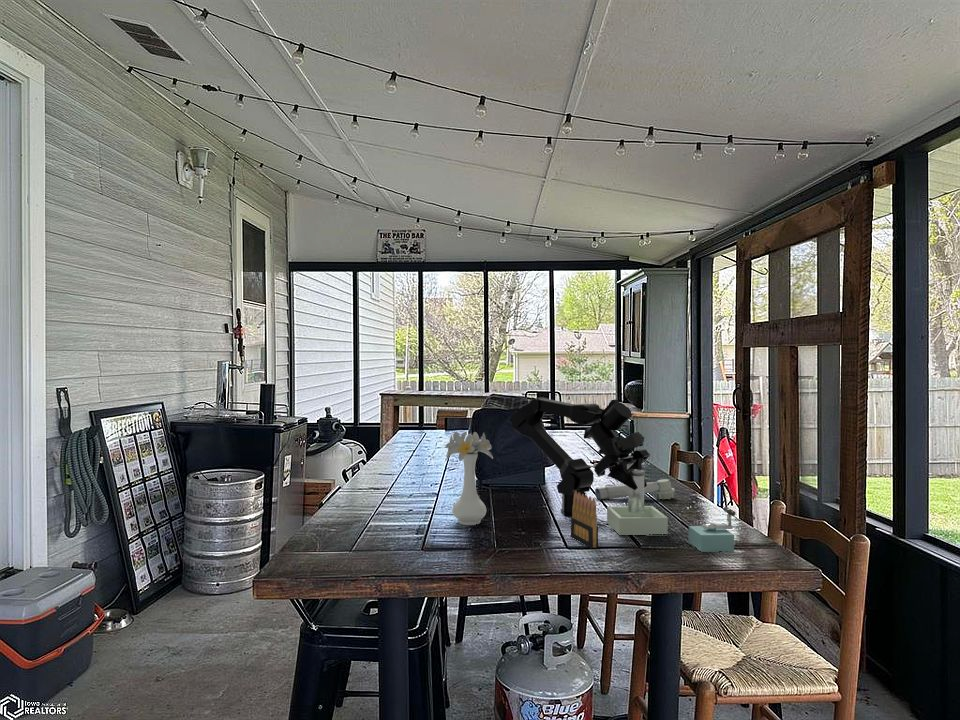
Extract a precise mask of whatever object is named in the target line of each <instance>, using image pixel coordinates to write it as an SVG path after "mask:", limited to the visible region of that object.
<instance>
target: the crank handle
mask: <svg viewBox="0 0 960 720" xmlns="http://www.w3.org/2000/svg"><path fill="white" fill-rule="evenodd" d="M722 510H723V512H725V513H726V523H714V522H706V523H703V524H701V526H702V528H703V529H707V530H711V531H714V530H716V529H726V530H733V528H734V527H733V524H732V519H733V518H732V517H734V516H736V512H735V511H734V510H733V509H731V508H729V507H727V506H724V507H723V509H722Z"/></svg>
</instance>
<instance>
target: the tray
mask: <svg viewBox="0 0 960 720" xmlns="http://www.w3.org/2000/svg"><path fill="white" fill-rule="evenodd" d="M668 521H669V519H668V517H667V516H666V515H665V514H664V513H662V512H661V511H659V510H658V509H657V508H655V507H654V506H653V505H644V513H631V512H629V511H628V505H627V506H626V505H621V506H618V505H617V506H615V505H613V506H612V505H611V506H607V507H606V523H607V522H608V523H607V525H608V526H609V527H610V526H611V527H612V528H613V529H614V530H615V531H616V532H617V533H618V534H619V535H646V536H653V535H652V534H662V535H661V536H664V535H663V534H668V526H669V524H668V523H669V522H668ZM612 528H611V529H612ZM613 529H612V530H613ZM614 530H613V531H614ZM615 531H614V532H615ZM616 532H615V533H616ZM617 533H616V534H617ZM618 534H617V535H618ZM649 534H651V535H649ZM619 535H618V536H619ZM668 535H669V534H668Z"/></svg>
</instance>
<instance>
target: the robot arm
mask: <svg viewBox="0 0 960 720" xmlns="http://www.w3.org/2000/svg"><path fill="white" fill-rule="evenodd" d="M545 413H547V414H551V415H553V416H554V415H555V416H560V417H565V418H568V419H569V420H570V421H571V422H572V423H574V424H577V425H579V426H586V425H587V426H588V425H591V426H590V427H589V428H588V427H587V428H585V429H584V434H583V439H585V440H586V439H592V440H593V442H594V443H595V445H596V446H597V447H598V448H599V450H598V451H597V453H599V455H603V457H602V458H600V460H599V461H598V462H596V464H595V465H594V467H593V468H594V469H593V470H594V471H593V470H592V466H591V465H588V463H587V462H586V461H585V460H584V459H583V458H575V459H573V458H572V457H571V456H570V454H569V453H567V451H565V450H564V449H563V448H562V447H561V446H560V444H559V443H558V442H556V440H555V439H554V438H553V437H552V436H551V435H550V434H549V433H548V432H547V431H546V430H545V429H544V428H543V422H542V419H543V418H544V416H545ZM632 416H633V414H632V410H631V409H630V407H628V406H627V405H625V404H624V403H622V402H620V401H619V400H618V399H611V400H610V401H609V403H608V404H607V406H606V407H605V408H600V405H599V404H597V403H577V404H575V403H570V402H564V401H561V400H560V401H559V400H555V399H550V398H546V397H535V398H533V399H531V401H529V402H528V403H527V404H526V405H524V406H523V407H521V408H519V410H517V412H514V413H513V414H512V416H511V420H510V423H511V424H510V425H511V427H512V429H513V430H514V431H516V432H517V433H518V434H519V435H522V436H524V437H526V438H529V439H530V440H532V442H533V443H534V444H535V445H536V446H537V447H538V448H539V450H541V451H542V453H544V454H545V456H546V457H547V458H548V459H549V460H550V461H551V462H552V463H553V464H554V465H555V466H556V467H557V469H558V470H559V473H560V474H559V475H560V478H561V481H560V482H559V483H558V484H556V489H557V493H558V494H561V509H560V512H561V513H562V514H563V516H564V517H572V508H573V499H574V493H575V491H577V494H578V493H579V492H580V494H581V496H582V494H584V497H585V496H586V495H587V493H588V492H590V490H591V487H592V485H593V483H594V481H595V479H594V473H595V474H596V475H597V477H603V476H606V469H608V471H609V473H608V474H607V477H609V478H612V479H614V480H616V481H618V482H620V483H621V484H622V485H626V486H628V487H630V488H632V489H633V490H636V489H637V488H638V487H637V485H636V483H635V481H634V480H633V478H632V477H631V475H630V473H629V470H630V469H642V470H643V467H642V466H643V463H644V462H646V461H647V459H648V458H650V456H651V454H650V453H649V452H648V450H647V449H642V448H641V449H636V450H634V449H635V448H639V447H643V446H644V442H645V436H643V435H642V433H640V432H639V431H635V432H634V433H631V434H630V435H628V436H625V437H624V438H623V437H621V436H619V437H617V435H616V433H614V431H615V432H617V431H619V430H620V429H622V428H623V426H624V425H625V424H626V423H627V422H628V421H629V420H630V419H631V418H632ZM646 483H647V481H646V477H644V488H645V487H646V486H647V484H646Z"/></svg>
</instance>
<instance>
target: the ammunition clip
mask: <svg viewBox="0 0 960 720" xmlns="http://www.w3.org/2000/svg"><path fill="white" fill-rule="evenodd" d="M570 517H571V518H570V538H571V537H572V539H573V538H574V539H573V540H575V539H576V540H575V541H577V540H578V541H580V542H581V543H580V542H579V543H580V544H582V543H583V545H584V544H585V545H584V546H586V547H587V546H588V547H587V548H589V547H590V548H589V549H591V550H592V548H594V549H598V548H599V526H597V525H598V515H597V504H596V500H595V497H593V498H592V497H591V496H589V497H588V495H587V494H586V496H585V497H584V494H582V496H581V494H580V492H579V493H578V494H577V491H575V493H574V499H573V508H572V516H570ZM578 541H577V542H578Z"/></svg>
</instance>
